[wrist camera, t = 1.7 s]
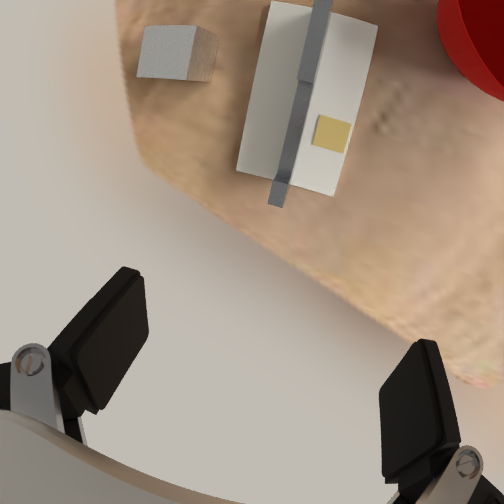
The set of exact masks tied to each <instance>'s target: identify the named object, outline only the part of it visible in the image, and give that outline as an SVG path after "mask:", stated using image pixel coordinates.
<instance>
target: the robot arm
mask: <svg viewBox="0 0 504 504" xmlns="http://www.w3.org/2000/svg"><path fill="white" fill-rule="evenodd" d="M148 334H149V328H148V319H147V310H146V298H145V286H144V278H143V277H142V276H140V272H139V271H138V270H135V269H131V268H128V267H122V268H120V269H119V270H118V272H116V273H115V275H114V276H113V277H112V278H111V279H110V280H109V281H108V282H107V283H106V284H105V285H104V286H103V287H102V288H101V289H100V290H99V291H98V292H97V293H96V295H95V296H94V297H93V298H91V299H90V300H89V301H88V302H87V303H86V305H85V306H84V307H83V308H82V309H81V310H80V311H79V312H78V314H77V315H76V316H75V317H74V318H73V319H72V320H71V322H70V323H69V324H68V325H67V326H66V327H65V328H64V329H63V330H62V332H61V333H60V334H59V335H58V336H57V337H56V339H55V340H54V341H53V342H52V343H51V345H50V346H49V347H48V348H47V349H46V348H45V347H43V346H42V345H40V344H37V343H34V344H33V343H31V344H27V345H24V346H22V347H21V348H19V349H18V350H17V351H16V352H15V354H14V356H13V357H12V362H8V363H3V364H0V504H243V503H238V502H233V501H229V500H225V499H221V498H217V497H213V496H210V495H206V494H202V493H199V492H196V491H192V490H189V489H186V488H183V487H180V486H177V485H174V484H171V483H168V482H165V481H163V480H160V479H157V478H155V477H152V476H149V475H147V474H145V473H142V472H140V471H138V470H135V469H133V468H131V467H128V466H126V465H124V464H122V463H120V462H117V461H115V460H113V459H111V458H109V457H107V456H105V455H103V454H101V453H99V452H97V451H95V450H93V449H91V448H89V447H88V446H87V442H86V438H85V433H84V429H83V424H82V420H81V416H82V414H83V413H84V411H85V410H87V411H89V412H91V413H93V414H95V415H96V414H97V412H98V411H99V409H100V410H103V409H104V408H105V407H106V405H107V404H108V402H109V400H110V399H111V397H112V395H113V393H114V392H115V390H116V389H117V387H118V385H119V384H120V382H121V380H122V379H123V377H124V375H125V374H126V372H127V371H128V369H129V367H130V366H131V364H132V362H133V361H134V359H135V358H136V356H137V354H138V353H139V351H140V350H141V348H142V346H143V345H144V343H145V342H146V340H147V338H148ZM379 406H380V421H381V447H382V475H383V477H385V484H396V483H398V491H397V492H396V493H395V494H394V496H393V497H392V498H391V499H390V500H389V502H388V503H387V504H504V495H503V494H502V493H501V492H500V491H499V490H498V489H497V488H496V487H495V486H493V485H492V484H491V483H490V482H489V481H488V480H487V479H486V478H485V477H484V476H483V475H482V471H483V460H482V456H481V455H480V453H479V451H478V450H477V449H476V448H474V447H472V446H467V445H466V446H462V447H459V443H460V442H461V438H460V432H459V427H458V422H457V417H456V413H455V408H454V404H453V399H452V395H451V391H450V387H449V383H448V380H447V376H446V373H445V369H444V365H443V362H442V358H441V355H440V352H439V349H438V345H437V343H436V342H435V341H433V340H427V339H419V340H418V341H417V342H414V343H413V344H412V346H411V347H410V349H409V350H408V351H407V353H406V355H405V356H404V357H403V359H402V360H401V361H400V363H399V364H398V365H397V367H396V368H395V370H394V371H393V372H392V374H391V375H390V376H389V378H388V379H387V380H386V381H385V383H384V384H383V385H382V387H381V388H380V391H379Z"/></svg>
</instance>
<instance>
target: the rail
mask: <svg viewBox="0 0 504 504" xmlns="http://www.w3.org/2000/svg"><path fill="white" fill-rule="evenodd" d="M332 5H333V0H314V5H313V9H312V14H311V18H310V22H309V27H308V31H307V36H306V40H305V44H304V49H303V53H302V57H301V62H300V66H299V71H298V75H297V80H298V85H297V89H296V93H295V98H294V102H293V106H292V111H291V115H290V119H289V123H288V128H287V132H286V136H285V140H284V145H283V149H282V153H281V157H280V162H279V166H278V170H277V174H276V176H275V178H274V180H273V183H272V187H271V191H270V195H269V200H268V204H270V205H274V206H277V207H281V208H282V207H283V204H284V201H285V198H286V195H287V193H288V190H289V187H290V184H291V180H292V176H293V172H294V168H295V164H296V160H297V156H298V152H299V148H300V144H301V140H302V136H303V132H304V128H305V124H306V120H307V116H308V112H309V108H310V104H311V99H312V95H313V91H314V87H315V83H316V79H317V74H318V70H319V66H320V61H321V57H322V53H323V48H324V44H325V40H326V35H327V31H328V26H329V22H330V17H331V13H332Z"/></svg>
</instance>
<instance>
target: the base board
mask: <svg viewBox="0 0 504 504" xmlns="http://www.w3.org/2000/svg"><path fill="white" fill-rule="evenodd" d="M312 9H313V8H311V7H306V6H301V5H296V4H290V3H284V2H277V1H271V5H270V9H269V14H268V18H267V22H266V26H265V31H264V35H263V40H262V44H261V49H260V53H259V58H258V62H257V67H256V72H255V76H254V81H253V86H252V91H251V96H250V100H249V105H248V110H247V115H246V120H245V125H244V131H243V136H242V141H241V146H240V151H239V157H238V162H237V167H236V171H240V172H244V173H248V174H252V175H256V176H260V177H264V178H268V179H272V180H274V178H275V176H276V174H277V170H278V166H279V162H280V157H281V153H282V149H283V145H284V140H285V136H286V132H287V128H288V123H289V119H290V115H291V111H292V106H293V102H294V98H295V93H296V89H297V85H298V80H297V75H298V71H299V66H300V62H301V57H302V53H303V49H304V44H305V40H306V36H307V31H308V27H309V22H310V18H311V14H312ZM377 30H378V26H377V25H374V24H371V23H368V22H365V21H362V20H358V19H355V18H352V17H348V16H344V15H341V14H337V13H333V12H332V13H331V17H330V22H329V26H328V31H327V35H326V40H325V44H324V48H323V53H322V57H321V61H320V66H319V70H318V74H317V79H316V83H315V87H314V91H313V95H312V99H311V104H310V108H309V112H308V116H307V120H306V124H305V128H304V132H303V136H302V140H301V144H300V148H299V152H298V156H297V160H296V164H295V168H294V172H293V176H292V180H291V185H294V186H298V187H301V188H305V189H308V190H312V191H315V192H319V193H322V194H326V195H329V196H332V197H333V195H334V192H335V189H336V186H337V183H338V179H339V176H340V173H341V170H342V166H343V163H344V160H345V156H346V153H347V149H348V146H349V142H350V139H351V135H352V132H353V128H354V125H355V121H356V117H357V114H358V110H359V106H360V102H361V98H362V94H363V90H364V86H365V82H366V78H367V74H368V70H369V66H370V62H371V57H372V53H373V48H374V44H375V39H376V35H377Z"/></svg>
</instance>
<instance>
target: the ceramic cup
mask: <svg viewBox="0 0 504 504" xmlns="http://www.w3.org/2000/svg"><path fill="white" fill-rule="evenodd" d="M437 25H438V31H439V35H440V38H441V41H442V44H443V46H444V48H445V50H446V52H447V54H448V56H449V57H450V59H451V60H452V62H453V63H454V65H455V66H456V67H457V68H458V69H459V71H460V72H461V73H462V74H463V75H464V76H465V77H466V78H467V79H468V80H469V81H470V82H471V83H473V84H474V85H475V86H477V87H478V88H480V89H481V90H482V91H484V92H485V93H487V94H489V95H491V96H493V97H495V98H497V99H499V100H502V101H504V0H439V3H438V7H437Z"/></svg>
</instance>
